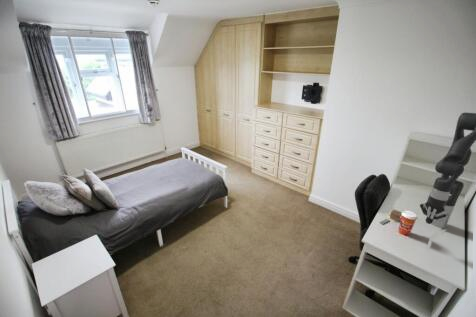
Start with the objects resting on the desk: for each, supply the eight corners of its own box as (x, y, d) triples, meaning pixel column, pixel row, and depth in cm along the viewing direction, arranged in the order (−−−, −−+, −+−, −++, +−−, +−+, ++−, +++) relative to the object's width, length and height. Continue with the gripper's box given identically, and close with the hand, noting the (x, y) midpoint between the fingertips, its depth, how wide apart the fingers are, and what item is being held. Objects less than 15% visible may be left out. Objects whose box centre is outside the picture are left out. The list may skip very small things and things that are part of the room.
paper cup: (395, 232, 139) (401, 214, 134) (397, 227, 144) (403, 208, 139) (410, 238, 134) (417, 219, 129) (412, 232, 139) (419, 213, 134)
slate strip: (386, 219, 152) (386, 218, 151) (389, 221, 150) (389, 220, 150) (379, 222, 148) (379, 222, 148) (382, 224, 146) (382, 223, 146)
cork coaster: (392, 214, 158) (392, 213, 157) (404, 220, 151) (404, 219, 151) (385, 217, 154) (385, 216, 154) (397, 223, 147) (397, 223, 147)
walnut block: (391, 215, 156) (393, 209, 154) (400, 218, 152) (401, 212, 150) (389, 218, 152) (391, 212, 151) (398, 221, 149) (400, 215, 147)
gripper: (457, 200, 116) (445, 227, 122) (427, 189, 127) (418, 215, 133) (450, 204, 113) (439, 231, 119) (420, 192, 124) (411, 218, 130)
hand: (428, 222), depth 126 cm, fingers closed
